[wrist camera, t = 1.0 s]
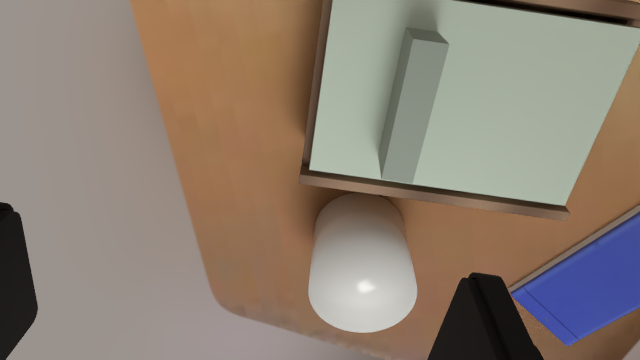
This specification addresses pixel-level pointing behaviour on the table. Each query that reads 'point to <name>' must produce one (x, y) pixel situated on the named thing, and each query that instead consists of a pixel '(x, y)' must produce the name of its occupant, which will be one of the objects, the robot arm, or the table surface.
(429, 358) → the robot arm
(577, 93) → the lid
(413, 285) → the white round canister
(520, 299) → the blue book
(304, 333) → the table surface
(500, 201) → the walnut box
